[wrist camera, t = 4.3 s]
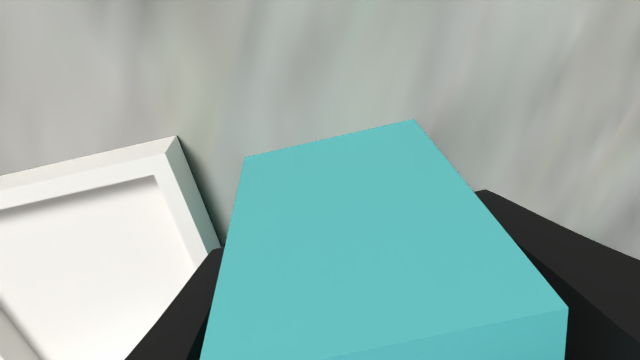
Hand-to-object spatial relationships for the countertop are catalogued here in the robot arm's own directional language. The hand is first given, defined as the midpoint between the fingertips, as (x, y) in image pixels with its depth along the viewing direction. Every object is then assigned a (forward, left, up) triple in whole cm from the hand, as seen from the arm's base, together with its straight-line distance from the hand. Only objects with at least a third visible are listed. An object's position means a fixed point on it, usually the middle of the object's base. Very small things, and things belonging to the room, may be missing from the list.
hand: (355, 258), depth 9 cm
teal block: (0, 0, -2) cm, 2 cm away
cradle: (+6, 0, -2) cm, 7 cm away
